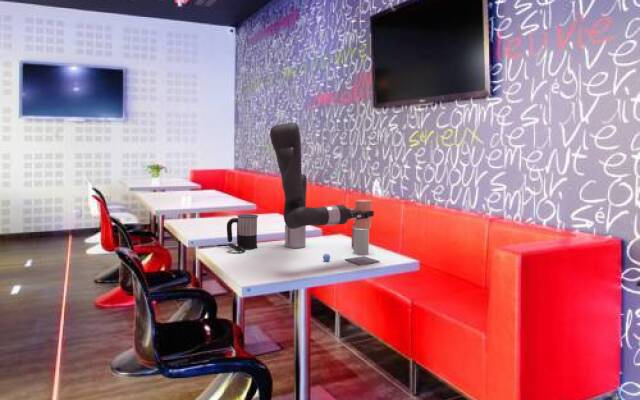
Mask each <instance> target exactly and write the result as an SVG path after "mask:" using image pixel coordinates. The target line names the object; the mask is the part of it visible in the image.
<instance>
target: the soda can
mask: <svg viewBox="0 0 640 400" xmlns="http://www.w3.org/2000/svg"><path fill="white" fill-rule="evenodd" d="M352 223H353V224H352V225H351V247H352V248H353V249H354V229H355V221H353V222H352Z"/></svg>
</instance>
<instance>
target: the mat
mask: <svg viewBox="0 0 640 400" xmlns="http://www.w3.org/2000/svg"><path fill="white" fill-rule="evenodd" d="M344 261H345V262H348V263H351V264H354V265H358V266H360V267H361V266H366V265H371V264H372V265H373V264H378V263H381V261H380V260H378V259H376V258H371V257H368V256H366V255H361V256H358V257H357V256H355V257H350V258H349V257H348V258H345V259H344Z"/></svg>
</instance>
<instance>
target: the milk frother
mask: <svg viewBox="0 0 640 400" xmlns="http://www.w3.org/2000/svg"><path fill="white" fill-rule="evenodd" d="M258 217H259V216H258V215H257V214H249V213H245V214H243V213H242V214H241V213H240V214H237V217H232V218H230V219H229V220H228V221H227V223H226V237H227V242H229V243H228V247H229V248H230V249H233V250H235V251H236V252H238V253H240V252H244V253H245V252H246V250H256V249H257V248H258V237H257V236H258V233H257V232H258ZM235 223H236V244H232V243H231V242H233V227H232V225H233V224H235ZM255 248H256V249H255Z"/></svg>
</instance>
